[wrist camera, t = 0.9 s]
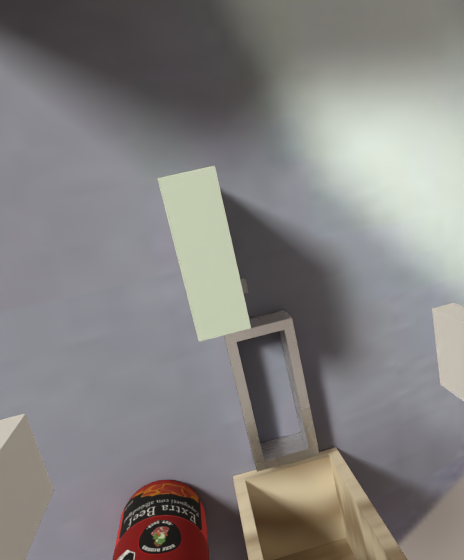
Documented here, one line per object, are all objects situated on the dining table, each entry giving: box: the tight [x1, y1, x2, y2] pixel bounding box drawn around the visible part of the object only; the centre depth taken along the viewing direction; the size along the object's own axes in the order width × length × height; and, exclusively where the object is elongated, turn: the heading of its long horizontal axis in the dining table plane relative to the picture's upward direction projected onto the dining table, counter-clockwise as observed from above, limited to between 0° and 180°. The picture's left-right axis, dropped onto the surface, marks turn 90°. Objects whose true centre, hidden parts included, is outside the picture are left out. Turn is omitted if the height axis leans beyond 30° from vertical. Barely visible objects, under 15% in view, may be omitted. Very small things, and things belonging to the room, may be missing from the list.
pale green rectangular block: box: [158, 166, 251, 341], centre depth 28 cm, size 9×4×12 cm, turn 13°
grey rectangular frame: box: [224, 310, 319, 472], centre depth 36 cm, size 13×6×3 cm, turn 13°
